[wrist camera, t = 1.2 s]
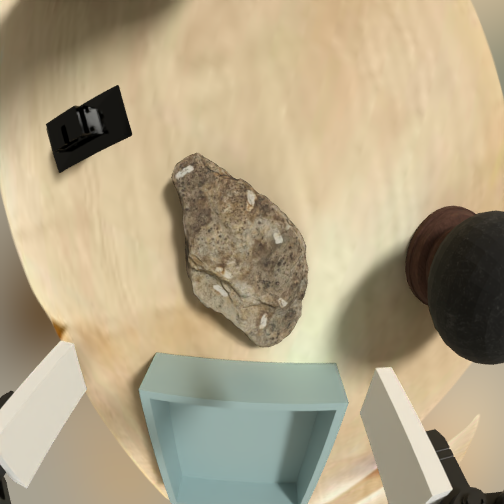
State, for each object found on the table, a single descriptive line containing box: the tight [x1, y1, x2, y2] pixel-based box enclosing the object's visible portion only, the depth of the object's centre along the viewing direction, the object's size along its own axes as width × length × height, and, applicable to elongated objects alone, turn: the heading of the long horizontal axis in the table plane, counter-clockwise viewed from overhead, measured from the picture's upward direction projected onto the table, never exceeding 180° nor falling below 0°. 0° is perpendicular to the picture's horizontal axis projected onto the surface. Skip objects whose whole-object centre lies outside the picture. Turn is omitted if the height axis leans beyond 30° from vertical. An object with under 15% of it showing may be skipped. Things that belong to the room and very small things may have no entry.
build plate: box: [46, 85, 132, 173], centre depth 24 cm, size 12×7×5 cm, turn 108°
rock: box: [171, 153, 308, 347], centre depth 27 cm, size 18×11×4 cm, turn 45°
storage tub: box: [139, 352, 349, 504], centre depth 33 cm, size 26×20×6 cm
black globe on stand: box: [406, 206, 504, 365], centre depth 21 cm, size 13×13×15 cm
